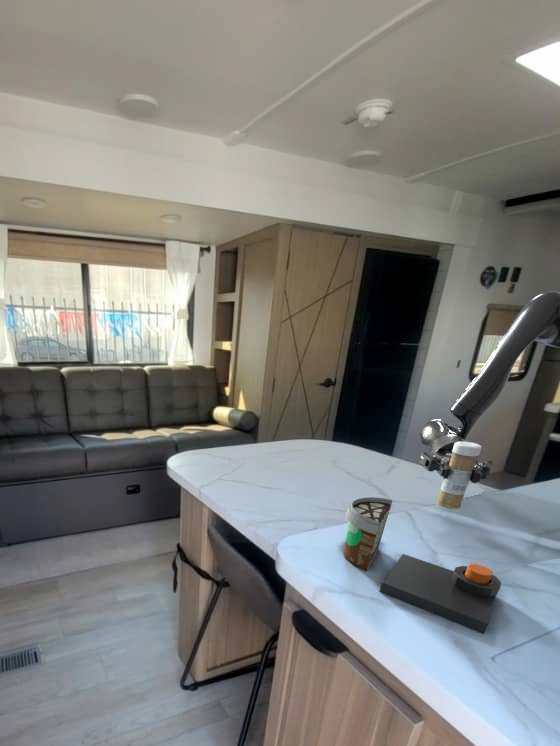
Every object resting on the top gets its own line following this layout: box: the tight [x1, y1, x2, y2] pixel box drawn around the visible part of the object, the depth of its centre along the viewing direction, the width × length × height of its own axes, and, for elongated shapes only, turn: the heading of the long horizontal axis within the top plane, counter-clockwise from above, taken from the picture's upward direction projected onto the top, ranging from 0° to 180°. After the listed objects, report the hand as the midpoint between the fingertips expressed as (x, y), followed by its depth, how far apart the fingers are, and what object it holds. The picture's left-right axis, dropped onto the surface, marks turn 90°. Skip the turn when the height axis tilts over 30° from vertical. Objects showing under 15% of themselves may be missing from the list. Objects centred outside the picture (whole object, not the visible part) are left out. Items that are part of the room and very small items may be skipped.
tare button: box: [465, 563, 494, 584], centre depth 63 cm, size 3×3×2 cm
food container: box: [343, 496, 393, 572], centre depth 73 cm, size 12×6×10 cm, turn 145°
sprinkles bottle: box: [436, 441, 483, 510], centre depth 83 cm, size 5×5×14 cm
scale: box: [378, 553, 502, 635], centre depth 64 cm, size 14×12×4 cm
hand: (461, 476), depth 81 cm, fingers closed on sprinkles bottle, 4 cm apart
